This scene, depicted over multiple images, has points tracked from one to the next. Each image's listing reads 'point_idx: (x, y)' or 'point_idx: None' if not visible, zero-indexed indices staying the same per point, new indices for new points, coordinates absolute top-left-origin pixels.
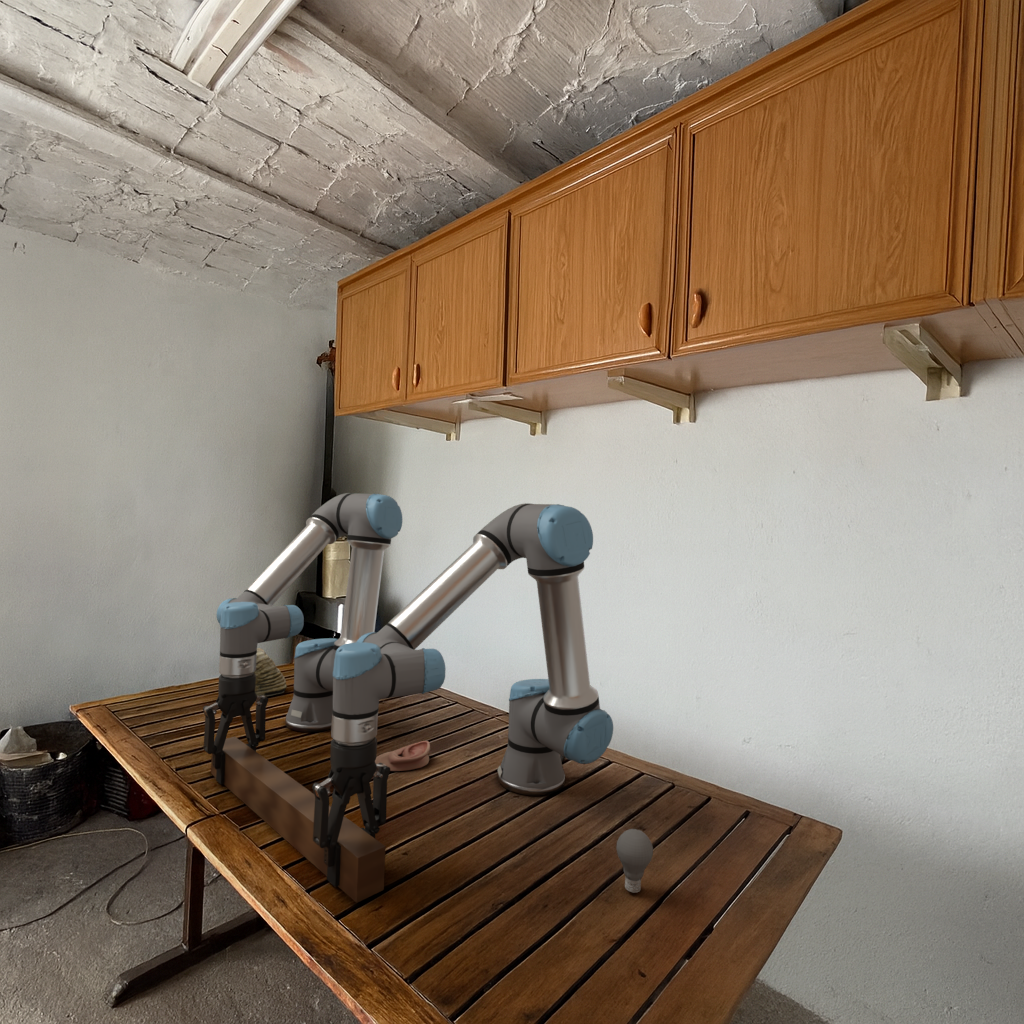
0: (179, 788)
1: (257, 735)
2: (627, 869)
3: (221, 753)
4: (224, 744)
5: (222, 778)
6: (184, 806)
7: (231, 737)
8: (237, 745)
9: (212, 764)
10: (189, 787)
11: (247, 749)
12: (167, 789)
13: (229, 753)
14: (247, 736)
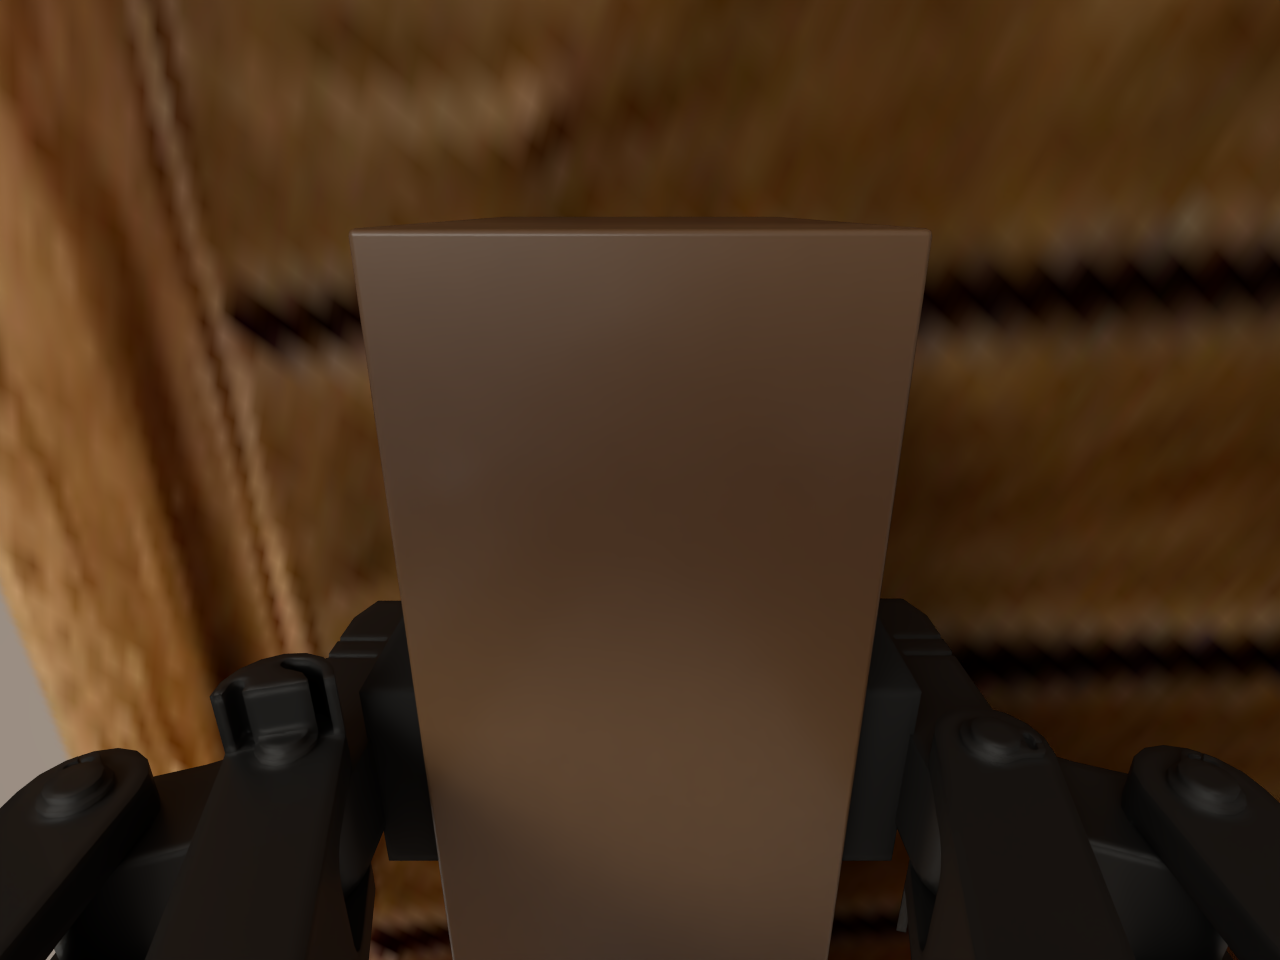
0: (134, 385)
1: (1149, 895)
2: None
3: (395, 818)
4: (537, 568)
5: None
6: (153, 735)
7: (836, 245)
8: (717, 741)
9: (350, 624)
10: (229, 425)
11: (764, 947)
12: (15, 330)
13: (481, 934)
14: (943, 900)
